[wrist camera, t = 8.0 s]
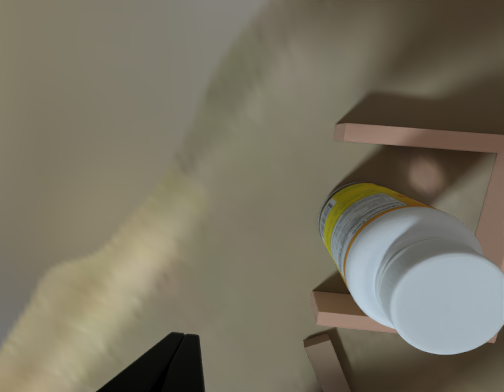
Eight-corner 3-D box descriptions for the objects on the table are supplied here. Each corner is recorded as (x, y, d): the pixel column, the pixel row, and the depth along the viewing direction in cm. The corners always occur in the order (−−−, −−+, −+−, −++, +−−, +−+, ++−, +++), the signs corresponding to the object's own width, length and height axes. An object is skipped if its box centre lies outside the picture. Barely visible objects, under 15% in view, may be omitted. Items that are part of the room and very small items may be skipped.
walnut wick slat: (358, 408, 23) (363, 422, 22) (335, 414, 24) (338, 428, 22) (326, 329, 22) (330, 339, 21) (302, 336, 22) (304, 347, 21)
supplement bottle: (409, 236, 19) (560, 344, 9) (335, 267, 20) (401, 397, 10) (380, 164, 18) (512, 199, 8) (303, 200, 19) (341, 270, 9)
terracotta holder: (467, 318, 20) (494, 343, 18) (310, 302, 21) (316, 324, 18) (518, 138, 18) (558, 139, 15) (335, 124, 18) (346, 122, 16)
